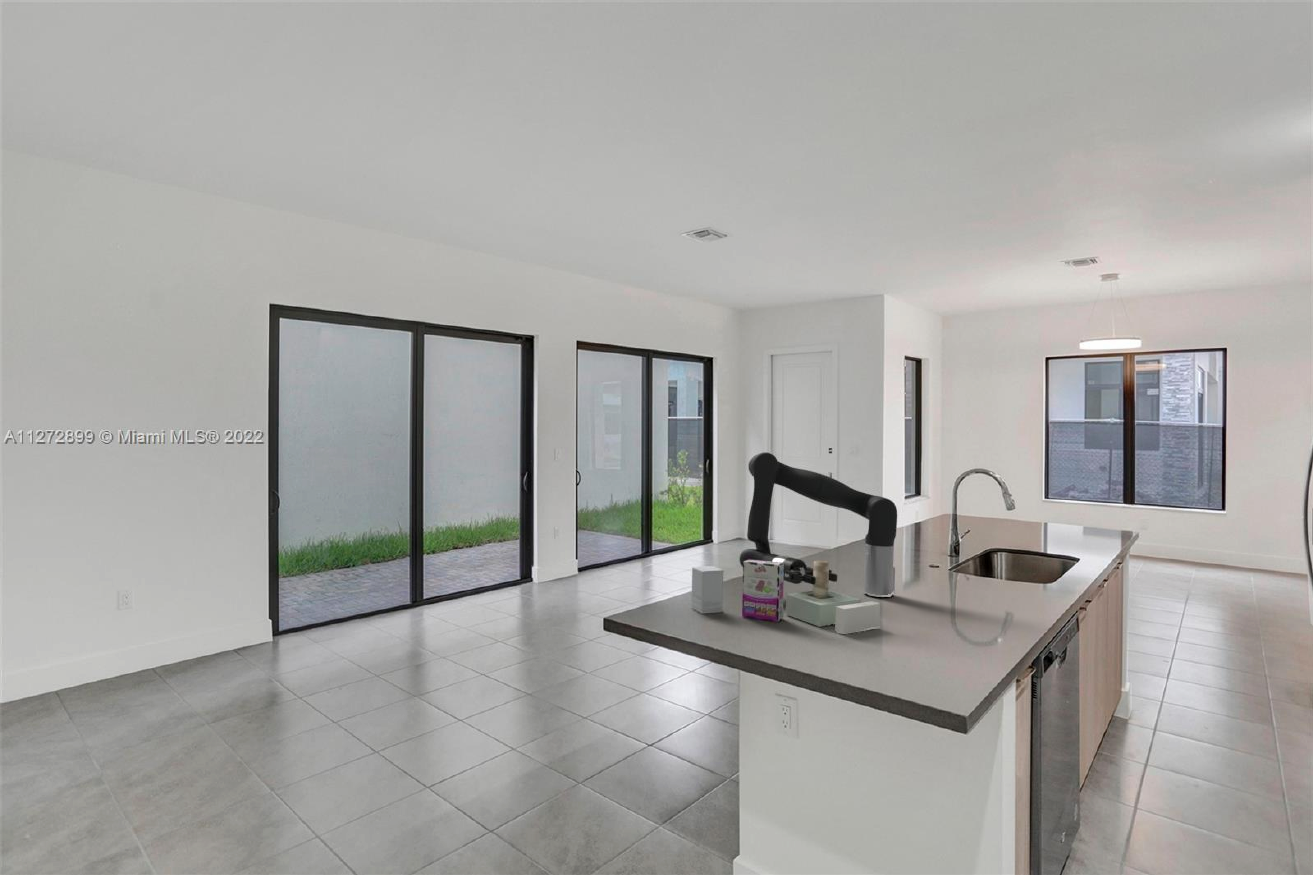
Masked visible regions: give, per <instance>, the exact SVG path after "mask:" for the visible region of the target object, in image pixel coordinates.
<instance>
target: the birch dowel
mask: <svg viewBox="0 0 1313 875" xmlns="http://www.w3.org/2000/svg"><path fill="white" fill-rule="evenodd" d="M813 568H814V569H813V576H814V577H815V578H816V583H815V584H812V591H813V597H815V598H818V599H826V598H828V590H829V582H830V580H829V570H830V562H829V561H826V560H814V561H813Z"/></svg>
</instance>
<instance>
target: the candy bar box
mask: <svg viewBox="0 0 1313 875" xmlns="http://www.w3.org/2000/svg"><path fill="white" fill-rule="evenodd" d="M784 583H785V581H784V563H780V562H771V561H760V560H751V559H748V560H746V561H744V562H743V567H742V602H741V603H742V607H741V611H742V612H741V613H742V614H741V617H743V618H749V619H754V620H761V621H768V622H775V623H779V622H781V621H782V620H783V619H784V585H785V584H784ZM782 618H783V619H782ZM781 619H782V620H781Z"/></svg>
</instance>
